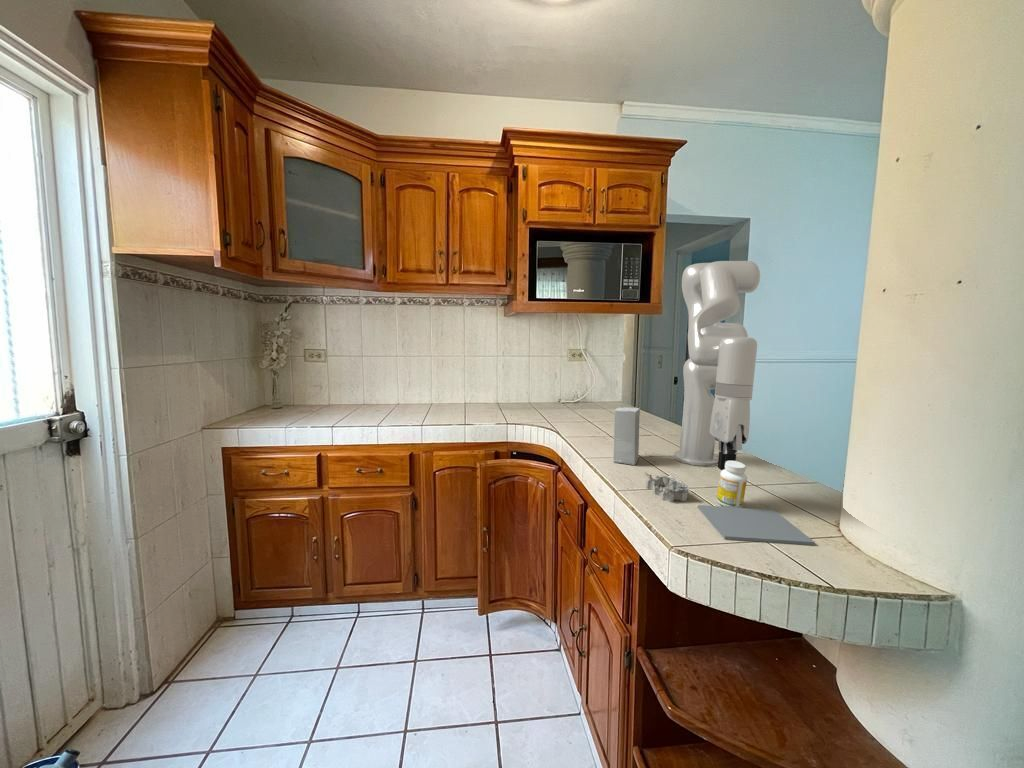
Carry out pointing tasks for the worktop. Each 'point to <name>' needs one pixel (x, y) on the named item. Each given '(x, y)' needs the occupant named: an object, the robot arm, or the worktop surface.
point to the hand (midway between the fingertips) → (725, 469)
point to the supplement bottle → (732, 485)
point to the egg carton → (667, 488)
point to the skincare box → (626, 435)
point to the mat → (753, 525)
